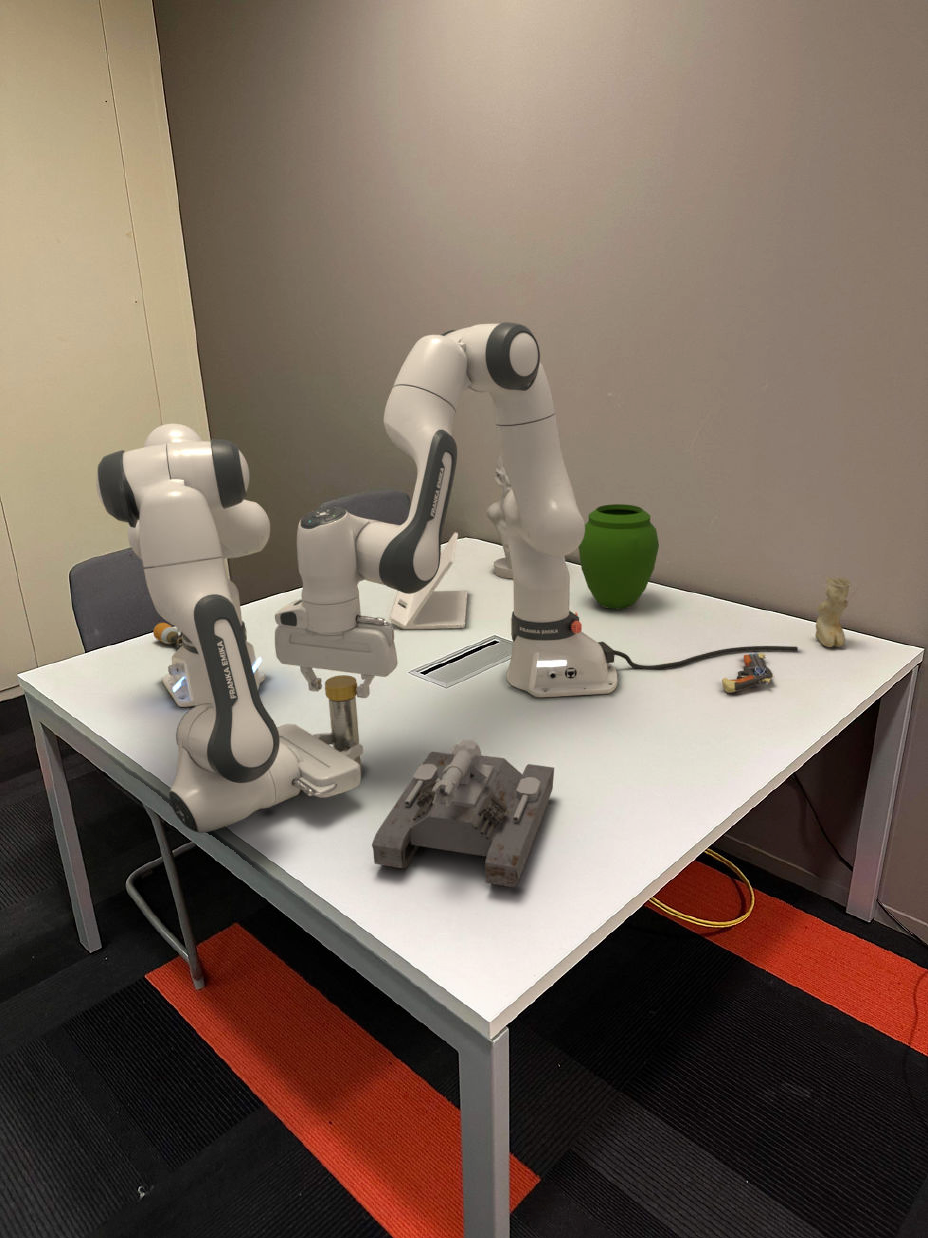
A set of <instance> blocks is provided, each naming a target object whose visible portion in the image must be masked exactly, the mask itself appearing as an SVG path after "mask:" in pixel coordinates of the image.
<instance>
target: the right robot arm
mask: <svg viewBox="0 0 928 1238" xmlns="http://www.w3.org/2000/svg"><path fill="white" fill-rule="evenodd" d="M463 393H471V394H481V393H488V394H489V396H491V398H492V409H493V417H494V423H495V429H496V434H497V440H498V445H499V451H500V455H501V457H502V463H503V466H504V469H505V471H506V473H507V476H508V479H509V482H510V485H511V488H512V489H511V490H510V491H509V493H508V494H507V495H506V497H505V500H504V503H503V513H504V517H505V521H506V527H507V536H508V544H509V551H510V557H511V563H512V570H513V578H512V580H513V583H512V586H513V587H512V588H513V611H512V612H511V618H510V635H511V640H512V645H511V646H512V647H511V655H510V660H509V665H508V669H507V672H506V675H505V678H506V681H507V683H509V684H510V685H511V686H513V687H515V688H517V689H519V690H522V691H525V692H527V693H529V694H530V695H531V696H533V697H535V698H556V697H572V696H573V697H574V696H588V695H589V696H590V695H591V696H592V695H607V694H611V693H612V692H613V691H615V690H616V688H617V686H618V673H617V670H616V668H615V667H614V666H613V665H612V663H615V656H618V657H621V658H622V659H624V660H625V661H626V663H627V664H628V665H629V666H630V667H632V668H633V669H637V670H649V671H653V670H654V671H655V670H662V669H670V668H677V667H680V666H685V665H688V664H690V663H694V662H696V661H700V660H703V659H707V658H711V657H715V656H718V655H724V654H729V653H739V652H750V651H751V652H754V651H784V652H785V651H786V652H787V651H788V652H798V650H799V648H798V646H788V645H787V646H786V645H752V646H737V647H730V648H723V649H717V650H714V651H710V652H705V653H702V654H698V655H695V656H692V657H688V658H686V659H683V660H680V661H674V662H668V663H661V664H654V665H642V664H638V663H635V662H634V661H632V659H631V657H630V656H629V655H628V654H626V653H625V652H622V651H620V650H615V649H613V648H612V647H611V646H609V645H608V644H607V643H606V642H604V641H596V640H595V639H593V638H591V637H590V636H589V635H587V634H586V633H585V632H583V631H582V630H583V626H582V625H583V624H582V622H581V621H580V616H579V615H578V612H577V611H575V613H574V612H573V611H571V610H570V590H571V589H570V586H571V585H570V584H571V583H570V582H571V576H570V571H569V568H568V565H567V562H566V561H567V560H566V556H568V555H570V554H572V553H573V552H575V551H576V550H577V549H579V545H580V544H581V542H582V540H583V538H584V534H585V524H586V523H585V521H584V518H583V516H582V514H581V511H580V510H579V507H578V504H577V500H576V497H575V494H574V493H575V492H574V490H573V486H572V483H571V480H570V477H569V474H568V470H567V467H566V464H565V461H564V456H563V452H562V447H561V441H560V435H559V428H558V421H557V416H556V409H555V404H554V399H553V396H552V395H553V394H552V391H551V386H550V383H549V379H548V377H547V374H546V370H545V368H544V366H543V364H542V362H541V352H540V347H539V343H538V341H537V339H536V337H535V335H534V334H533V332H532V330H531V329H530V328H529V327H528V326H526V325H524V324H520V323H516V322H510V321H504V322H501V323H479V324H475V325H472V326H468V327H463V328H460V329H451V330H448V331H445V332H442V333H440V334H428V335H425V336H422V337H421V338H420V339H418V340H417V341H416V342H415V344H414V345H413V347H411V350H410V351H409V352H408V355H407V356H406V358H405V360H404V361H403V364H402V366H401V368H400V370H399V371H398V374H397V377H396V378H395V381H394V384H393V386H392V389H391V391H390V394H389V396H388V398H387V401H386V404H385V409H384V412H383V425H384V428H385V432H386V435H387V436H388V438H389V440H390V441H391V442H392V444H393V445H394V446H395V447H396V448H397V449H398V450H400V451H401V452H402V453H404V454H405V455H407V456H408V457H410V458H411V459H412V460H413V461H414V464H415V465H416V470H417V476H416V480H415V486H414V490H413V493H412V494H413V495H412V499H411V502H410V508H409V513H408V515H407V518H406V521H404V522H403V523H402V524H400V525H399V524H394V523H389V522H384V521H380V520H376V519H371V518H364V517H360V516H357V515H355V514H352V513H350V512H348V511H347V510H346V508H344V507H341V506H325V507H318V508H315V509H313V510H311V511H310V510H309V512H307V513H305V515H303V516H302V517H301V518H300V520H299V522H298V526H297V531H296V555H297V566H298V567H297V569H298V573H299V575H300V577H301V583H302V589H301V594H300V595H301V598H300V599H296V600H294V601H292V602H290V603H288V604H287V605H285V606H284V607H282V608H280V609H279V610H278V611H277V612H276V613H275V614H274V621H275V623H276V624H277V626H276V628H275V630H274V650H275V656H276V659H277V660H278V662H280V664H282V665H289V666H296V667H299V669H300V673H301V674H302V676H303V677H304V679H305V680H306V682H307V683H308V684H307V685H308V691H309V692H310V691H311V692H318V693H319V691H321V690H322V688H323V684H322V682H323V681H322V678H320V677H317V675H316V673H315V671H314V670H313V669H319V670H327V671H334V672H335V671H336V672H342V673H349V674H358V675H360V678H361V680H362V681H363V680H364V681H363V683H360V684H359V685H357V688H356V692H357V695H356V697H357V698H361V699H367V698H368V697H370V693H371V689H370V685H371V684H372V682H373V681H374V678H375V677H381V678H387V677H388V676H389V675H391V674H392V673H393V672H394V671H395V670H396V668H397V667H398V663H399V662H398V654H397V648H396V644H395V629H394V627H393V625H392V624H391V623H390V622H389V621H386V619H385V618H383V617H372V616H369V615H368V616H367V615H362V613H361V602H360V601H361V600H360V591H359V587H358V585H359V583H361V582H362V581H367V582H370V583H375V584H378V585H382V586H385V587H387V588H390V589H392V590H394V591H397V592H398V591H400V592H403V593H406V594H412V593H416V592H418V591H420V590H421V589H423V588H424V587H426V586H427V585H428V584H429V583H430V582H431V581H432V580H433V579H434V577H435V576H436V574H437V572H438V569H439V565H440V557H441V552H442V538H443V532H444V527H445V522H446V518H447V512H448V508H449V504H450V498H451V493H452V489H453V485H454V479H455V474H456V469H457V463H458V462H457V461H458V445H457V443H456V440H455V439H454V437H453V435H452V433H453V432H452V431H453V424H454V420H455V416H456V413H457V411H458V408H459V405H460V402H461V399H462V394H463Z"/></svg>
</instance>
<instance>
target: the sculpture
mask: <svg viewBox="0 0 928 1238" xmlns="http://www.w3.org/2000/svg"><path fill="white" fill-rule="evenodd" d="M826 581H827V586H826V588H825V590H824V593H825V595H826V596H827V598H826V600H824V601H822V602H821V603H820V604H819V605H818V606H817V609H816V610H817V612H818V614H819V616H818V617H817V619H816V623H815V630H816V631H815V634H814V635H815V639H817V640H819V642H820V643H821V644H822V645H823V646H825V647H827V648H832V647H834V646H835V647H843V646H844V645H845V643H846V642H845V641H846V636H845V632H844V630H843V626H842V624H841V622H840V621H841V617H842V615H843V612H844V610H845V609H846V608H847V606H848V604H849V603H848V602H849V601H847V598H848V597H849V592H850V586H851V585H852V582H850V580H848V579H847V578H845V577H841V576H840V577H835V578H831V577H827V578H826Z"/></svg>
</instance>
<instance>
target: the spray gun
mask: <svg viewBox="0 0 928 1238" xmlns="http://www.w3.org/2000/svg"><path fill="white" fill-rule="evenodd" d="M152 634H153V637H154V639H156V640H157V641H160V642H161V643H163V644H166V645H172V644H176V646H178V647H181V646H182V635H183V633H182V632H181V631H180V634H179V631H178V629H177V628H176V627H175V626H173V625H171V624H169V623H166V622H159V623H157V625H155V626H154V628H153V632H152Z"/></svg>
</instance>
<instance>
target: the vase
mask: <svg viewBox="0 0 928 1238" xmlns="http://www.w3.org/2000/svg"><path fill="white" fill-rule="evenodd" d="M587 516H588V517H587V518H588V521H587V522H586V523H584V524H585V534H584V538H583V540H582V542H581V544H580V545H579V547H578V554H579V562H580V569H581V571H582V574H583V577H584V580H585V583H586V585H587V588H588V590H589V591H590V594H592V597H593V598H594V600H595V601H596V602H597V603H598V604H599V605H600V606H602V607H604V608H606V609H609V610H625V609H628V608H630V607H632V606H634V604H636V602H638V601H639V599H640V597H641V596H642V595H643V593H644V592H645V590H646V588H647V586H648V584H649V581H650V579H651V577H652V574H653V572H654V570H655V566H656V562H657V557H658V552H659V548H660V544H659V543H660V542H659V537H658V531H657V528H656V527H655V526H654V524H653V523H652V522H651V515H650V514H649V512H647V511H645V510H644V509H643V508H642V507H641V506H638V505H633V504H622V503H621V504H619V503H616V504H615V503H614V504H604V505H601V506H598V507H597V508H595V509H594V510H592V511H591V512H590V513H589V514H588V515H587Z"/></svg>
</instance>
